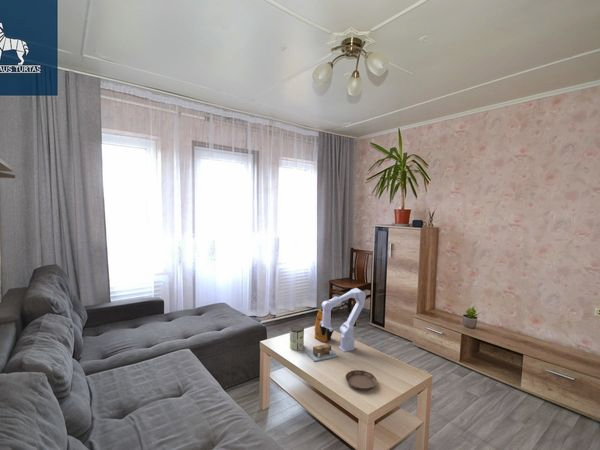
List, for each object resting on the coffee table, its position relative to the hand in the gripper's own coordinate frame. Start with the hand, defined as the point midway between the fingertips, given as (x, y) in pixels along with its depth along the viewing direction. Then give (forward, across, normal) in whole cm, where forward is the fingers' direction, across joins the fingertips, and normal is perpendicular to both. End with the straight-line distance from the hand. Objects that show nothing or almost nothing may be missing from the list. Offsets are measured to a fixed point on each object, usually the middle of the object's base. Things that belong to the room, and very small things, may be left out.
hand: (326, 337), depth 197 cm
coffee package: (+10, -18, +7) cm, 22 cm away
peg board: (+10, +4, -5) cm, 12 cm away
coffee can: (+10, -13, -17) cm, 24 cm away
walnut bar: (+9, +4, -5) cm, 11 cm away
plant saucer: (+10, +40, +1) cm, 41 cm away
